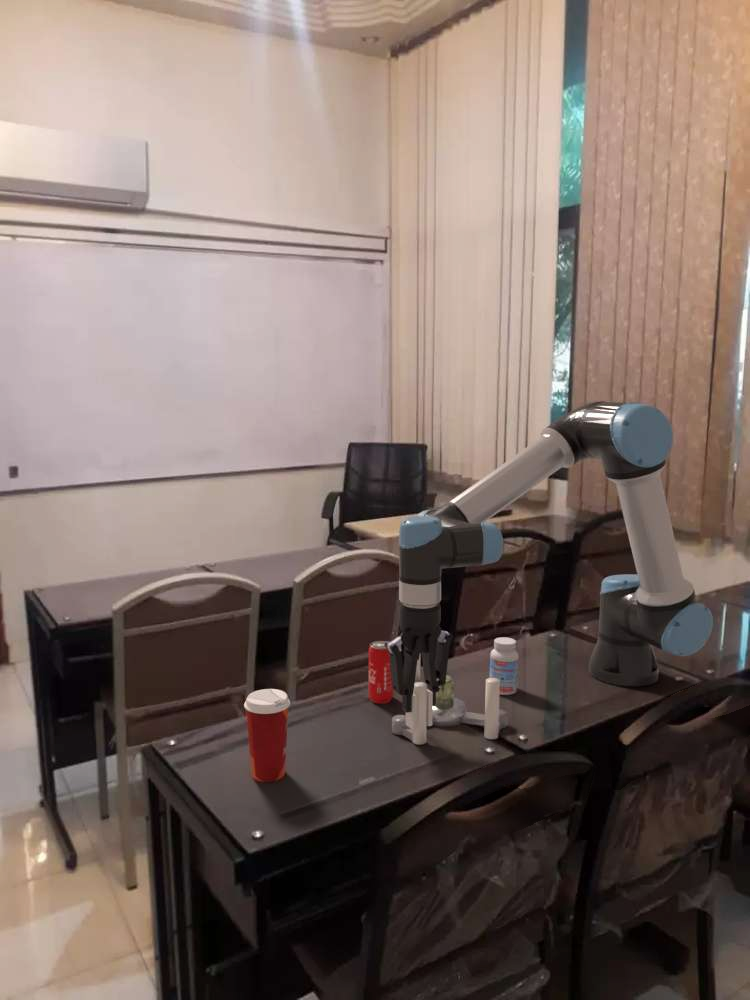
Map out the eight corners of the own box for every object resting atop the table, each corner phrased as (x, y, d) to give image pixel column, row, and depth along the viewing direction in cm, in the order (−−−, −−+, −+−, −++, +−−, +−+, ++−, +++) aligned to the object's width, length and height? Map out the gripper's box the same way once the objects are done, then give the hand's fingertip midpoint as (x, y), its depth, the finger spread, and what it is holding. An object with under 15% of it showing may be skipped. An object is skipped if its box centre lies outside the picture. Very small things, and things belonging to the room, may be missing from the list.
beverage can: (390, 705, 162) (391, 649, 160) (366, 703, 163) (366, 647, 161) (395, 695, 167) (395, 641, 165) (371, 693, 168) (371, 639, 166)
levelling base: (471, 696, 167) (472, 659, 165) (491, 726, 153) (493, 686, 151) (394, 700, 164) (394, 663, 163) (407, 731, 150) (407, 690, 149)
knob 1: (388, 729, 150) (388, 674, 149) (403, 724, 152) (403, 670, 151) (415, 747, 143) (416, 689, 142) (431, 741, 145) (432, 685, 144)
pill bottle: (486, 693, 168) (488, 643, 166) (491, 683, 174) (493, 634, 172) (515, 697, 166) (516, 646, 164) (519, 686, 172) (521, 637, 170)
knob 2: (490, 719, 155) (492, 665, 153) (508, 722, 154) (510, 668, 152) (480, 737, 147) (481, 681, 145) (499, 741, 146) (500, 684, 144)
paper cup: (300, 773, 134) (299, 695, 132) (265, 790, 129) (264, 710, 126) (270, 758, 139) (269, 683, 137) (235, 774, 134) (233, 696, 131)
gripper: (444, 591, 148) (443, 708, 152) (371, 603, 141) (371, 726, 144) (467, 601, 142) (465, 723, 145) (392, 614, 134) (392, 743, 138)
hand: (419, 724), depth 145 cm, fingers open, 3 cm apart
